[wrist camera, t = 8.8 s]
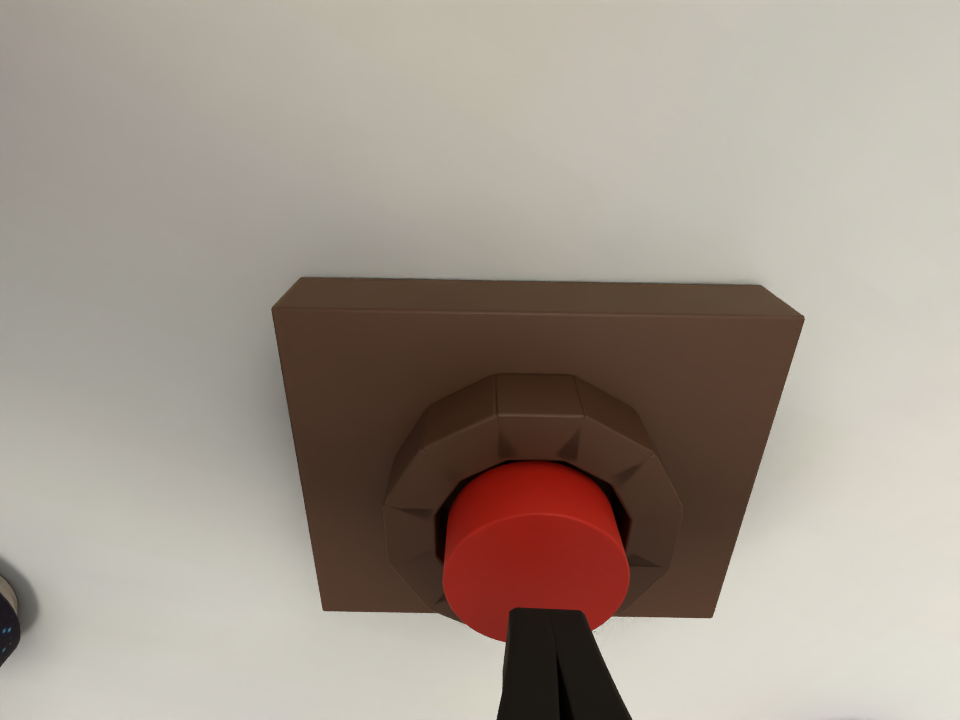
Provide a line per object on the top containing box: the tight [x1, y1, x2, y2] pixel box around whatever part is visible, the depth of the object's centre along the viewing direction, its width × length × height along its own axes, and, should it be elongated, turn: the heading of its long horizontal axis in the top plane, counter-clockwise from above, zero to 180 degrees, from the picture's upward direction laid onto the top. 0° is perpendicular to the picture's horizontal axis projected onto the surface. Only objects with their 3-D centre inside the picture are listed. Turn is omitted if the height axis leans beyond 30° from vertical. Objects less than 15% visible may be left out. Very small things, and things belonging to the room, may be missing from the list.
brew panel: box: [271, 278, 805, 624], centre depth 15 cm, size 12×10×4 cm
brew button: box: [442, 460, 630, 642], centre depth 12 cm, size 4×4×2 cm
